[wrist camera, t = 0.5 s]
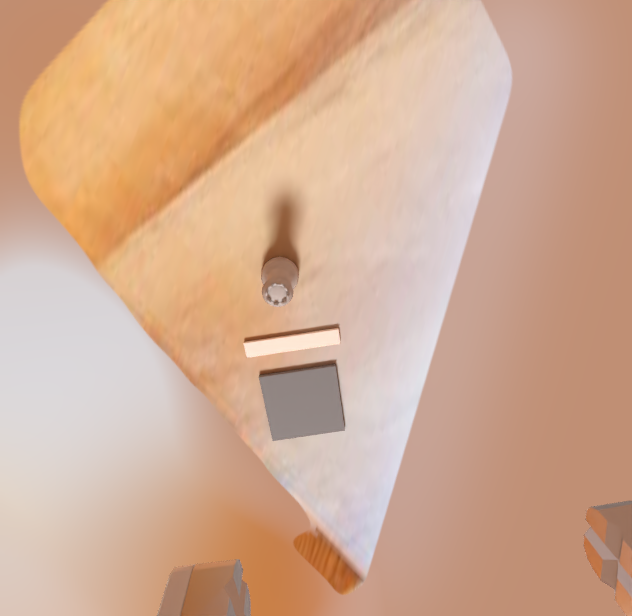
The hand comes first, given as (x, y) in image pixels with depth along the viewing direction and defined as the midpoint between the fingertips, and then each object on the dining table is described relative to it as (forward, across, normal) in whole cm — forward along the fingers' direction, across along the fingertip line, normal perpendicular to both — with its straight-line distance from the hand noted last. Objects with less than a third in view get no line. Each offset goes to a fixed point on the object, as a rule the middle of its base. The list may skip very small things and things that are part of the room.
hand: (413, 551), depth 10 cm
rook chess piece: (+42, +6, +4) cm, 43 cm away
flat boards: (+42, +6, +19) cm, 46 cm away
